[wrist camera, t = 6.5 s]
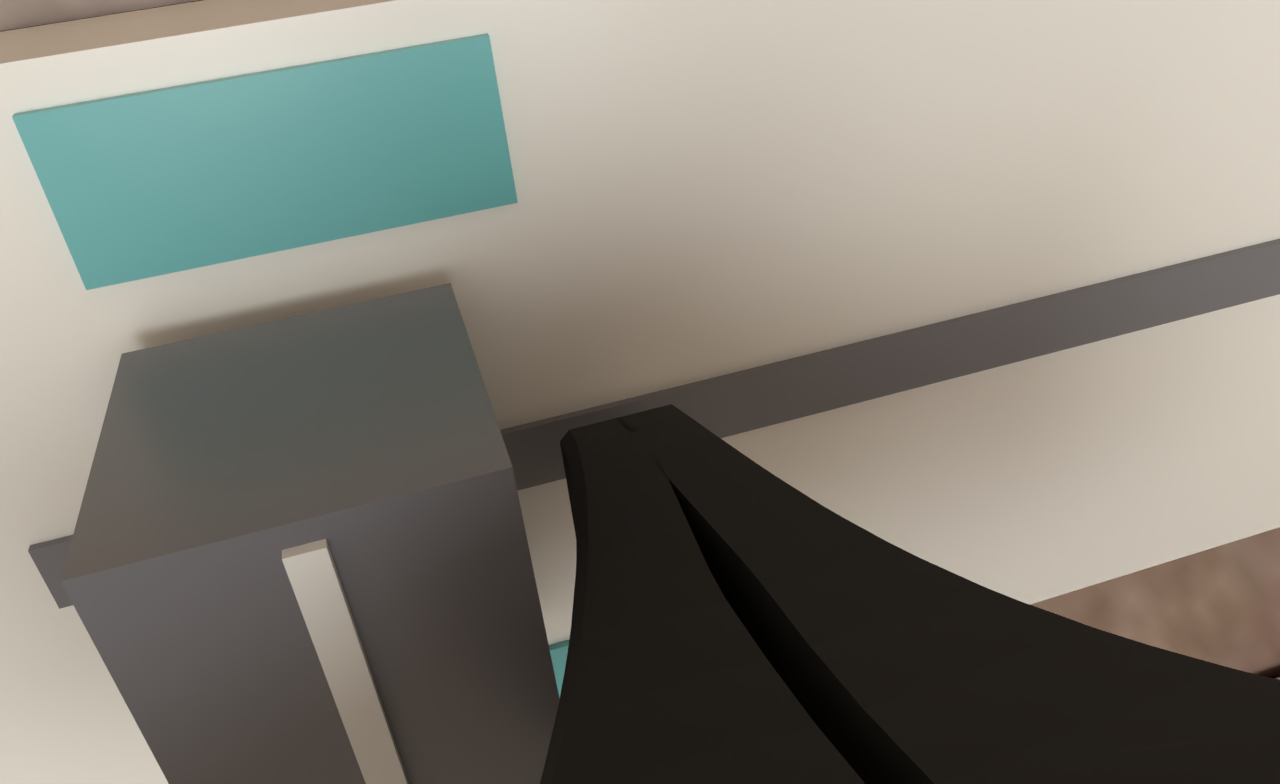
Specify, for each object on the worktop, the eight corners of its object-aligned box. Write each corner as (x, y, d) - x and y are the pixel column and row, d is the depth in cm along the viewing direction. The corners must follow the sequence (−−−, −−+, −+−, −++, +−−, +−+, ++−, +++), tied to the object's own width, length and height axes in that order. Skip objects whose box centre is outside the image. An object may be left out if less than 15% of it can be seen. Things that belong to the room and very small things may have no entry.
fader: (530, 650, 13) (600, 892, 10) (278, 723, 12) (278, 1000, 9) (449, 283, 10) (515, 475, 7) (121, 354, 9) (58, 590, 7)
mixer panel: (1430, 410, 19) (1517, 458, 18) (19, 825, 14) (-8, 932, 13) (1670, -227, 13) (1821, -227, 12) (-470, 104, 9) (-601, 162, 8)
